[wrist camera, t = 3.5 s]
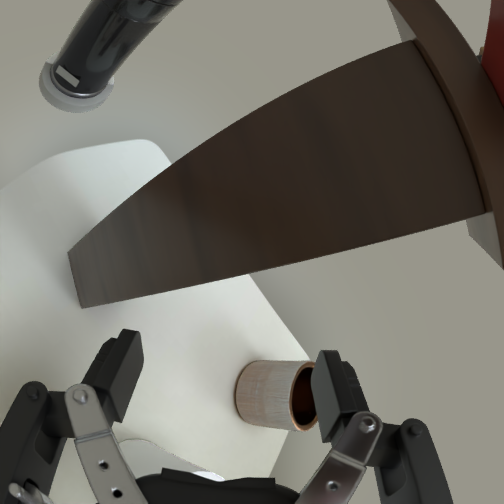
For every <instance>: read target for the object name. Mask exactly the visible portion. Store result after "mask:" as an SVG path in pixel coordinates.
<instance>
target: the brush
mask: <svg viewBox="0 0 504 504" xmlns="http://www.w3.org/2000/svg"><path fill="white" fill-rule="evenodd" d="M476 57H477V58H478V60H479V62H480V63H481V65H482V67H483V68H484V70H485V72H486V74H487V76H488V77H489V79H490V81H491V83H492V85H493V87H494V89H495V91H496V93H497V95H498V97H499V99H500V101H501V103H502V105H503V107H504V0H491V8H490V16H489V23H488V29H487V34H486V40H485V45H484V47H481V48H480V52H479V55H478V56H476Z"/></svg>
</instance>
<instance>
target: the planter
mask: <svg viewBox="0 0 504 504" xmlns="http://www.w3.org/2000/svg"><path fill="white" fill-rule="evenodd" d="M314 366H315V362H313V361H269V360H261V361H255V362H253V363H251V364H250V365H248V366H247V367H246V368H245V370H244V371H243V373H242V374H241V376H240V378H239V381H238V384H237V389H236V404H237V408H238V411H239V413H240V415H241V417H242V418H243V419H244V420H245V421H246V422H248V423H250V424H252V425H257V426H263V427H269V428H276V429H284V430H291V431H300V432H305V431H308V430H310V429H311V428H313V427H314V425H315V424H316V423H317V421H318V417H317V412H316V407H315V402H314V397H313V393H312V388H311V375H312V371H313V369H314Z"/></svg>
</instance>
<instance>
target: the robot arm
mask: <svg viewBox="0 0 504 504" xmlns="http://www.w3.org/2000/svg"><path fill="white" fill-rule="evenodd" d="M182 1H183V0H91V1H90V3H89V4H88V6H87V7H86V9H85V10H84V12H83V13H82V15H81V16H80V18H79V19H78V21H77V23H76V24H75V26H74V27H73V29H72V31H71V33H70V34H69V36H68V38H67V39H66V41H65V43H64V45H63V47H62V48H61V50H60V52H59V54H58V56H57V58H56V59H55V61H54V63H53V65H52V67H51V71H50V76H51V80H52V82H53V84H54V86H55V87H56V88H57V89H58V90H59V91H61V92H62V93H64V94H66V95H68V96H70V97H74V98H90V97H94V96H96V95H98V94H99V93H101V92H102V91H103V90H104V88H105V87H106V85H107V84H108V82H109V80H110V79H111V78H112V76H113V75H114V74H115V73H116V71H117V70H118V69H119V68H120V66H121V65H122V64H123V63H124V61H125V60H126V59H127V58H128V57H129V55H130V54H131V53H132V52H133V51H134V50H135V48H136V47H137V46H138V45H139V44H140V43H141V42H142V41H143V39H145V37H146V36H147V35H148V34H149V33H150V32H151V31H152V30H153V29H154V28H155V27H156V26H157V25H158V24H159V23H160V22H161V21H162V20H163V19H164V18H165V17H166V16H167V15H168V14H169V13H170V12H171V11H172V10H173V9H174V8H175V7H176V6H177V5H179V4H180V3H181V2H182ZM143 362H144V355H143V349H142V342H141V335H140V332H139V331H134V330H128V329H122V331H121V332H120V334H119V336H118V338H117V339H116V338H110V339H109V340H108V341H106V342H105V343H104V344H103V345H102V347H101V349H100V350H99V353H98V354H97V355H96V357H95V360H94V361H93V362H92V364H91V366H90V368H89V369H88V371H87V373H86V375H85V377H84V378H83V380H82V382H81V384H76V385H73V386H71V387H70V388H69V389H68V390H67V391H66V392H58V391H48V390H47V388H46V387H45V385H44V384H42V383H41V382H38V381H32V382H28V383H26V384H25V385H24V386H23V387H22V388H21V390H20V391H19V393H18V395H17V397H16V398H15V400H14V402H13V404H12V406H11V408H10V409H9V411H8V413H7V415H6V417H5V419H4V421H3V423H2V425H1V427H0V504H53V502H52V501H51V499H50V498H49V497H48V496H49V492H50V489H51V485H52V482H53V479H54V475H55V472H56V469H57V466H58V463H59V460H60V457H61V454H62V451H63V448H64V445H65V443H66V440H67V438H76V440H74V443H75V447H76V450H77V453H78V456H79V458H80V461H81V464H82V466H83V469H84V472H85V474H86V477H87V479H88V481H89V484H90V486H91V488H92V491H93V493H94V495H95V497H96V499H97V501H98V503H96V504H348V502H349V500H350V499H351V497H352V495H353V494H354V492H355V490H356V488H357V487H358V485H359V483H360V481H361V479H362V477H363V475H364V474H365V471H366V469H367V468H366V467H365V466H371V467H374V471H375V476H376V481H377V486H378V491H379V496H380V501H381V504H453V500H452V497H451V494H450V490H449V487H448V484H447V481H446V478H445V475H444V472H443V469H442V466H441V463H440V460H439V457H438V454H437V452H436V449H435V446H434V443H433V441H432V438H431V436H430V433H429V430H428V428H427V426H426V425H425V424H424V423H423V422H422V421H420V420H418V419H414V418H411V419H407V420H405V421H404V422H403V423H402V424H401V425H394V424H387V423H383V422H382V421H381V419H380V418H379V417H378V416H377V415H375V414H374V413H371V412H370V411H369V408H368V405H367V402H366V400H365V397H364V394H363V392H362V389H361V386H360V383H359V381H358V379H357V376H356V373H355V370H354V369H353V367H352V366H351V365H350V364H349V363H348V362H347V361H345V362H344V361H341V358H340V355H339V353H338V351H337V350H321V351H320V352H319V355H318V357H317V360H316V363H315V366H314V369H313V371H312V375H311V388H312V393H313V397H314V402H315V407H316V412H317V417H318V422H319V427H320V432H321V437H322V442H323V443H327V442H331V445H332V448H331V450H330V451H329V453H328V454H327V456H326V457H325V459H324V461H323V462H322V464H321V465H320V466H319V468H318V469H317V471H316V472H315V473H314V475H313V476H312V477H311V479H310V480H309V482H308V483H307V484H306V485H305V486H304V488H303V489H302V490H301V492H300V493H297V492H296V491H294V490H292V489H290V488H288V487H285V486H282V485H278V484H275V478H251V477H247V478H241V479H234V480H227V481H214V480H211V479H208V478H205V477H202V476H199V475H196V474H194V473H191V472H186V471H180V470H174V469H168V468H163V467H162V471H161V473H156V474H149V475H145V476H142V477H139V478H137V479H136V477H135V475H134V473H133V472H132V470H131V468H130V466H129V464H128V462H127V461H126V459H125V457H124V455H123V452H122V450H121V448H120V446H119V444H118V442H117V440H116V438H115V435H114V433H113V431H112V429H111V427H112V425H113V422H114V421H115V422H119V423H122V421H123V419H124V416H125V413H126V410H127V407H128V405H129V402H130V399H131V397H132V394H133V391H134V389H135V386H136V383H137V381H138V378H139V376H140V373H141V371H142V368H143Z"/></svg>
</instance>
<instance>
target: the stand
mask: <svg viewBox="0 0 504 504" xmlns="http://www.w3.org/2000/svg"><path fill="white" fill-rule="evenodd" d="M387 2H388V4H389V7H390V9H391V12H392V14H393V17H394V20H395V22H396V25H397V28H398V31H399V34H400V36H401V40H402V43H399V44H396V45H393V46H390V47H388V48H385V49H382V50H380V51H377V52H375V53H372V54H369V55H367V56H364V57H362V58H359V59H357V60H355V61H352V62H350V63H347V64H345V65H343V66H341V67H338V68H336V69H334V70H332V71H330V72H327V73H325V74H323V75H321V76H319V77H317V78H315V79H313V80H311V81H309V82H307V83H305V84H303V85H301V86H299V87H297V88H295V89H293V90H291V91H289V92H287V93H285V94H283V95H281V96H280V97H278V98H276V99H274V100H273V101H271V102H269V103H267V104H265V105H263V106H262V107H260V108H258V109H257V110H255V111H253V112H251V113H250V114H248V115H246V116H244V117H243V118H241V119H240V120H238V121H236V122H235V123H233V124H231V125H230V126H228V127H227V128H225V129H223V130H222V131H220V132H219V133H217V134H216V135H214V136H213V137H211V138H210V139H208V140H206V141H205V142H203V143H202V144H201V145H199V146H198V147H196V148H195V149H193V150H192V151H190V152H189V153H187V154H186V155H185V156H183V157H182V158H180V159H179V160H177V161H176V162H175V163H173V164H172V165H170V166H169V167H168V168H166V169H165V170H164V171H162V172H161V173H160V174H158V175H157V176H156V177H154V178H153V179H152V180H150V181H149V182H148V183H147V184H145V185H144V186H143V187H141V188H140V189H139V190H138V191H136V192H135V193H134V194H133V195H131V196H130V197H129V198H128V199H127V200H125V201H124V202H123V203H122V204H121V205H119V206H118V207H117V208H116V209H115V210H113V211H112V212H111V213H110V214H109V215H108V216H106V217H105V218H104V219H103V220H102V221H101V222H100V223H99V224H97V225H96V226H95V227H94V228H93V229H92V230H91V231H90V232H89V233H87V234H86V235H85V236H84V237H83V238H82V239H81V240H80V241H79V242H78V243H77V244H76V245H75V246H74V247H73V248H72V249H71V250H70V251H68V256H69V261H70V266H71V270H72V274H73V278H74V282H75V286H76V290H77V293H78V297H79V301H80V304H81V307H82V309H83V308H88V307H94V306H99V305H104V304H109V303H114V302H119V301H124V300H129V299H134V298H139V297H143V296H148V295H153V294H158V293H163V292H167V291H172V290H177V289H182V288H186V287H191V286H196V285H200V284H205V283H209V282H214V281H218V280H223V279H227V278H232V277H236V276H241V275H245V274H250V273H254V272H258V271H262V270H267V269H271V268H276V267H280V266H284V265H289V264H293V263H297V262H301V261H305V260H310V259H314V258H318V257H322V256H326V255H330V254H334V253H339V252H343V251H347V250H351V249H355V248H359V247H363V246H367V245H371V244H375V243H379V242H383V241H387V240H390V239H394V238H398V237H402V236H406V235H410V234H414V233H417V232H421V231H425V230H428V229H433V228H436V227H440V226H444V225H448V224H451V223H455V222H459V221H462V220H466V222H467V227H468V231H469V235H470V236H471V237H472V238H473V239H474V240H475V241H476V242H477V243H478V244H479V245H480V246H481V247H482V248H483V249H484V250H485V251H486V252H487V253H488V254H489V255H490V256H491V257H492V258H493V259H494V260H495V261H496V263H497V264H498V265H499V266H500V267H501V268H502V269H503V270H504V107H503V105H502V103H501V101H500V99H499V97H498V95H497V93H496V91H495V89H494V87H493V85H492V83H491V81H490V79H489V77H488V76H487V74H486V72H485V70H484V68H483V67H482V65H481V63H480V62H479V60H478V58H477V57H476V55H475V54H474V52H473V51H472V49H471V47H470V46H469V44H468V43H467V41H466V40H465V38H464V37H463V35H462V34H461V33H460V32H459V30H458V28H457V27H456V26H455V24H454V23H453V22H452V20H451V19H450V18H449V16H448V15H447V14H446V13H445V11H444V10H443V9H442V8H441V6H440V5H439V4H438V3H437V2H436V1H435V0H387Z"/></svg>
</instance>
